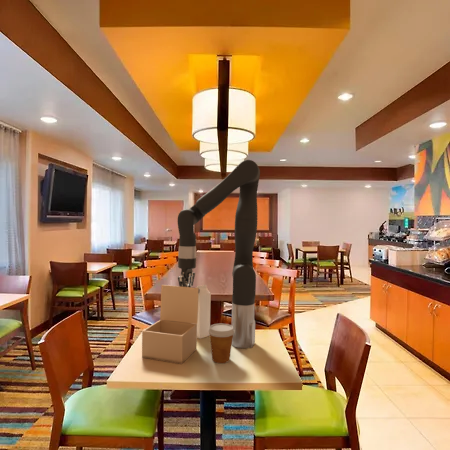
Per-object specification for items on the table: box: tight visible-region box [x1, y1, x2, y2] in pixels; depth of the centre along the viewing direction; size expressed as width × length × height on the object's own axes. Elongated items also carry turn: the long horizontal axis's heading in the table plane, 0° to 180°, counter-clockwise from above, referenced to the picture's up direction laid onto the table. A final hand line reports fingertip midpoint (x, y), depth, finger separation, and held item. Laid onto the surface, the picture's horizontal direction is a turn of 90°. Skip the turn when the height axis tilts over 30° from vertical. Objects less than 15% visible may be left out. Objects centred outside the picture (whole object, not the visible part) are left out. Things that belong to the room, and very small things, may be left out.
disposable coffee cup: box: [208, 323, 234, 364], centre depth 125 cm, size 10×10×12 cm
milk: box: [192, 284, 212, 340], centre depth 149 cm, size 6×6×22 cm
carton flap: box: [159, 284, 200, 324], centre depth 141 cm, size 16×14×9 cm
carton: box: [141, 319, 198, 365], centre depth 130 cm, size 16×14×10 cm
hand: (186, 297), depth 144 cm, fingers closed on carton flap, 2 cm apart
